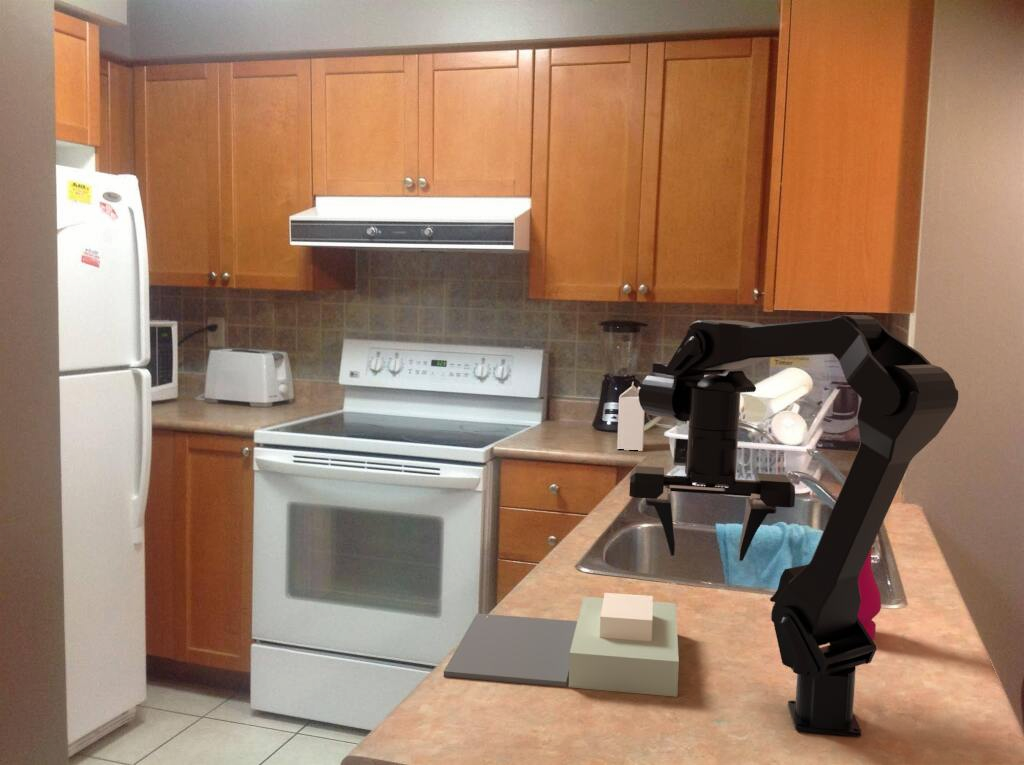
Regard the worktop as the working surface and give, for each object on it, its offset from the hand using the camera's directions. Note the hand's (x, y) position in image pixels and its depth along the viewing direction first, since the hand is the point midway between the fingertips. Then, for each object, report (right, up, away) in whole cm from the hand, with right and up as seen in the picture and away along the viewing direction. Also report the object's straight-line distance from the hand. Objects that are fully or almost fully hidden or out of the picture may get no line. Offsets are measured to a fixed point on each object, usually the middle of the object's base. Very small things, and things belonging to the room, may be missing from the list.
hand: (706, 557), depth 113 cm
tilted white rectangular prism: (-9, -7, +2) cm, 12 cm away
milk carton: (+11, +2, +158) cm, 158 cm away
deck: (-9, -13, +2) cm, 16 cm away
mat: (-22, -12, +4) cm, 26 cm away
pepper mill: (+22, -13, +13) cm, 28 cm away
